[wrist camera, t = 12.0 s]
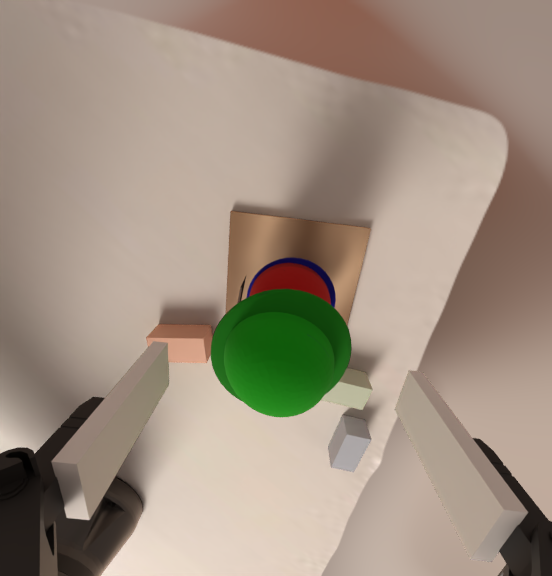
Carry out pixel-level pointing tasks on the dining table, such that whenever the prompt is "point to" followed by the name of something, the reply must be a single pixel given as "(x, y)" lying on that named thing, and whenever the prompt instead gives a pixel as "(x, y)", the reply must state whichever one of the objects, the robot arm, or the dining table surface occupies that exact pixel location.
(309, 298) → the toy
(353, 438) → the slate brick
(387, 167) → the dining table surface
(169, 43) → the dining table surface
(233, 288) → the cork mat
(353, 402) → the sage brick
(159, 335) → the terracotta brick
